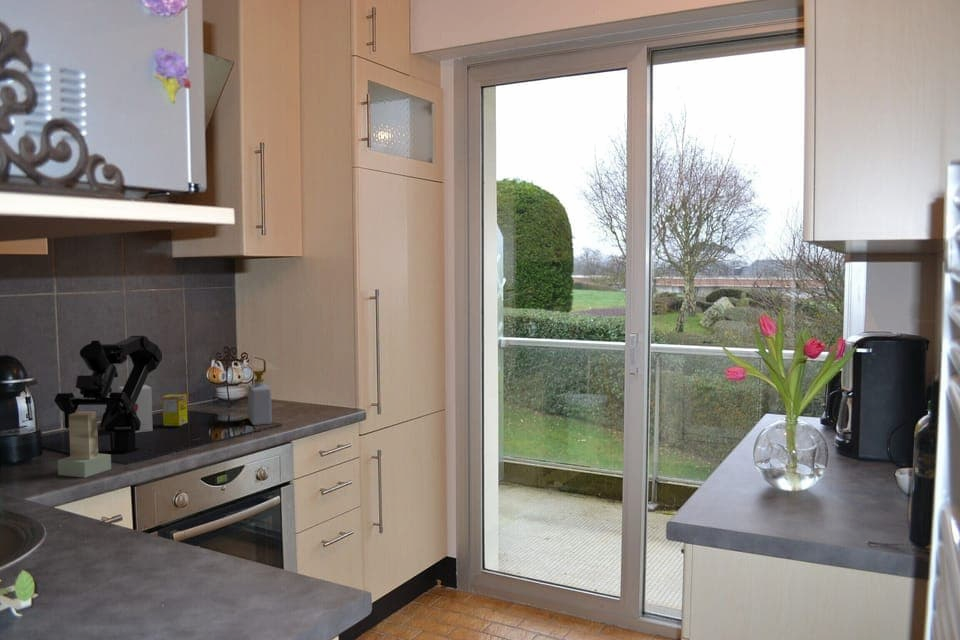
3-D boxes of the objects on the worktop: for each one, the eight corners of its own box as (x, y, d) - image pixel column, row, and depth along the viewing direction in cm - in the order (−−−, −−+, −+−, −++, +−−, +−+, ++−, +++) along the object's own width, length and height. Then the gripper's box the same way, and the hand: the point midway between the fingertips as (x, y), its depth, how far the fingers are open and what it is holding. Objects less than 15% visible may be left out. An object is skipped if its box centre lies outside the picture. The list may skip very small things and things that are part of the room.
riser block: (111, 468, 207) (110, 454, 206) (84, 477, 198) (84, 462, 198) (85, 466, 209) (84, 452, 209) (58, 474, 201) (57, 460, 201)
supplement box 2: (124, 434, 250) (122, 389, 250) (118, 430, 258) (117, 386, 257) (153, 431, 256) (152, 387, 255) (147, 426, 263) (145, 384, 262)
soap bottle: (248, 419, 275) (246, 355, 274) (267, 418, 278) (265, 354, 276) (252, 425, 264) (251, 359, 262) (272, 424, 267) (270, 358, 265)
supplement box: (188, 424, 267) (187, 393, 266) (179, 428, 261) (178, 396, 260) (171, 424, 267) (171, 393, 266) (163, 427, 261) (162, 396, 260)
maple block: (79, 455, 206) (77, 411, 205) (98, 454, 206) (96, 411, 205) (70, 459, 201) (68, 415, 200) (89, 459, 201) (87, 414, 200)
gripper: (56, 363, 207) (35, 411, 197) (125, 363, 208) (108, 410, 198) (71, 387, 215) (52, 434, 205) (138, 387, 216) (122, 433, 206)
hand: (83, 427), depth 203 cm, fingers open, 9 cm apart
